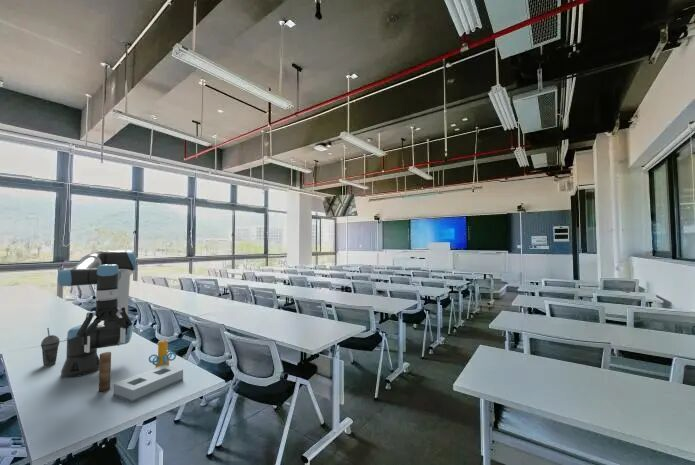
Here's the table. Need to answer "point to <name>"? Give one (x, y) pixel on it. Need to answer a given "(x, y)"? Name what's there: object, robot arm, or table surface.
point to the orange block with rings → (162, 355)
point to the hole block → (147, 383)
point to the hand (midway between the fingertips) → (105, 347)
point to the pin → (104, 371)
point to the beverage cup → (50, 349)
